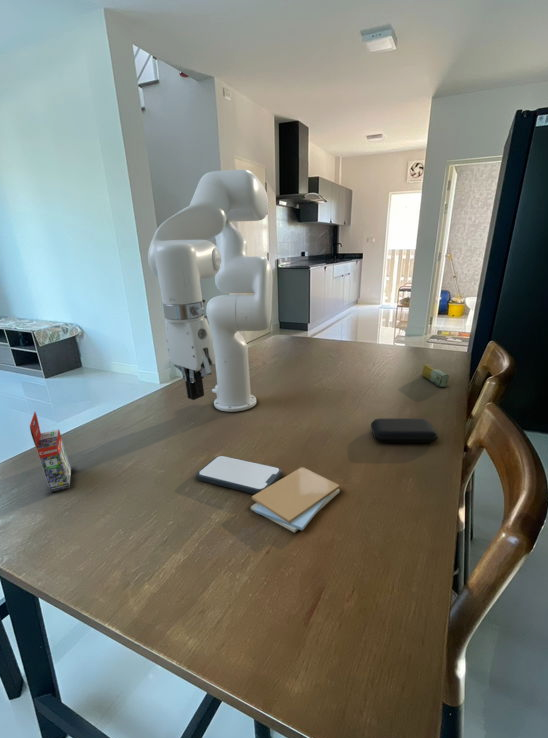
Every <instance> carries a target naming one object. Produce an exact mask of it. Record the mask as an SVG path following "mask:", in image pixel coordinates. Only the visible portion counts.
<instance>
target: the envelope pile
mask: <svg viewBox="0 0 548 738" xmlns="http://www.w3.org/2000/svg"><path fill="white" fill-rule="evenodd" d="M340 487H341V485H340V484H338V483H336V482H335V481H332V480H330V479H328V478H326V477H324V476H323V475H320V474H318V473H316V472H313V471H311V470H310V469H308V468H307V467H303V466H301V467H299V468H298V469H296V470H294V471H292V472H291V473H289V474H287V475H286V476H284V477H282V478H281V479H278V481H277V482H276V483H274V484H272V485H270V486H269V487H267V488H265V489H264V490H262V491H260V492H259V493H257V494H252V496H251V500H252V501H254V502H255V503H254V504H253V505H250V510H251V511H253V512H254V513H255V514H258V515H261V516H262V517H264V518H266V519H268V520H270V521H272V522H274V523H275V524H278V525H280V526H281V527H283V528H285V529H287V530H288V531H291V532H293V533H294V534H295V533H296V532H298V531H304V529H305V528H306V527H307V526H308V524H309V523H310V522H311V520H312V519H313V518H314V517H315V516H316V515H317V514H318V513H319V512H320V511H321V510H322V509H323V508H324V507H325V506H326V505H327V504H328V503H330V501H331V500H332V499H334V498H335V497H336V496H337V495H338V494H340V492H341V490H340Z"/></svg>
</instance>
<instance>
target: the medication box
mask: <svg viewBox="0 0 548 738" xmlns="http://www.w3.org/2000/svg"><path fill="white" fill-rule="evenodd" d="M421 376H422V377H424V378H426V379H427V380H429V381H430V382H432V383H433V384H435V385H436V386H438V387H439V388H447V386H448V382H449V379H450V375H449V374H447V372H446V373H445V372H444V371H442V370H441V369H439V368H437V367H435V366H434V365H432V364H428V363H427V364H423V366H422V371H421Z"/></svg>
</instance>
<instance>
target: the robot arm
mask: <svg viewBox="0 0 548 738" xmlns="http://www.w3.org/2000/svg"><path fill="white" fill-rule="evenodd" d="M268 197H269V196H268V193H267V191H266V189H265V187H264V185H263V184H262V182H261V181H260V179H259V178H258V176H256V174H255V173H253V171H251V170H247V169H227V170H213V171H209V172H207V173H204V174H203V176H201V178H200V179H199V181H198V183H197V186H196V188H195V191H194V194H193V195H192V198H191V200H190V203H189V205H188V206H186V207H184V208H182V209H181V210H179V211H177V212H176V213H174V214H173V215H171V216H170V217H168V218H166V219H165V220H164V221H163V222H162V223H161V224H160V225H159V226H158V227H157V229H156V231H155V232H154V234H153V236H152V239H151V241H150V244H149V248H148V252H147V263H148V266H149V269H150V270H151V273H152V274H153V275H154V276H155V277H157V280H158V285H159V290H160V296H161V302H162V309H163V315H164V323H165V325H164V326H165V339H166V341H165V342H166V348H167V354H168V357H169V361H170V362H171V363H172V364H173V365H174V367H175V368H176V369H177V370H179V371H180V372H181V376H182V379H183V380H184V381H185V383H184V384H185V388H186V389H185V390H186V395H187V399H189V400H192V401H195V400H198V399H199V398H203V397H204V396H205V390H204V382H203V380H204V379H205V377H208V376H211V375H212V369H211V367H212V366H213V367H214V366H215V375H216V384H215V386H214V388H212V389H211V393H213V394H216V398H215V399H214V400H213V406H214V408H215V409H217V410H218V411H221V412H227V413H234V412H235V413H236V412H244V411H246V410H249V409H252V408H254V406H256V405H257V398H256V396H255V395H254V394H252V393H251V379H250V378H251V377H250V366H249V365H250V363H249V348H248V344H247V341H246V340H245V338H244V337H243V335H242V334H241V333H240V332H263V331H265V330H267V329H269V327H270V324H271V322H272V311H273V309H272V307H273V306H272V305H273V284H274V282H273V280H274V279H273V278H274V277H273V276H274V275H273V268H272V265H271V262H270V261H269V259H267V258H266V257H264V256H247V255H248V241H247V239H246V238H245V236H244V235H243V234H242V232H241V231H240V230H239V229H238V228H237V227H236V226H235V225H234V224H233V223H232V222H235V223H236V222H257V221H262V220H264V219H265V218H266V217H267V215H268V212H269V198H268ZM213 238H214V239H215V243H213V242H212V241H211V240H210V239H213ZM212 278H214V284H215V287H216V288H217V290H218V291H220V292H222V293H226V294H221V295H217V296H214V297H212V298H211V299H209V300H208V302H207V304H206V308H205V311H206V317H205V312H204V303H203V302H204V301H203V295H202V287H201V280H209V279H212ZM210 366H211V367H210Z"/></svg>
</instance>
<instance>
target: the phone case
mask: <svg viewBox="0 0 548 738" xmlns="http://www.w3.org/2000/svg"><path fill="white" fill-rule="evenodd" d="M282 471H283V470H282V469H281V468H280V467H276V466H272V465H267V464H262V463H258V462H254V461H249V460H244V459H239V458H235V457H230V456H226V455H217V456H216V457H214V458H213V459H212V460H210V461H209V462H208V463H207V464H206V465H204V466H203V467H202V468H201V469H199V470H198V471H197V472H196V477H197V480H199V481H201V482H204V483H207V484H213V485H216V486H219V487H225V488H228V489H232V490H235V491H239V492H244V493H247V494H251V495H255V494H257V493H259V492H260V491H262V490H264V489H265V488H267V487H269V486H270V485H272V484H274V483H276V482H277V481H279V480H280V478H281V477H282V475H283V473H282Z"/></svg>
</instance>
